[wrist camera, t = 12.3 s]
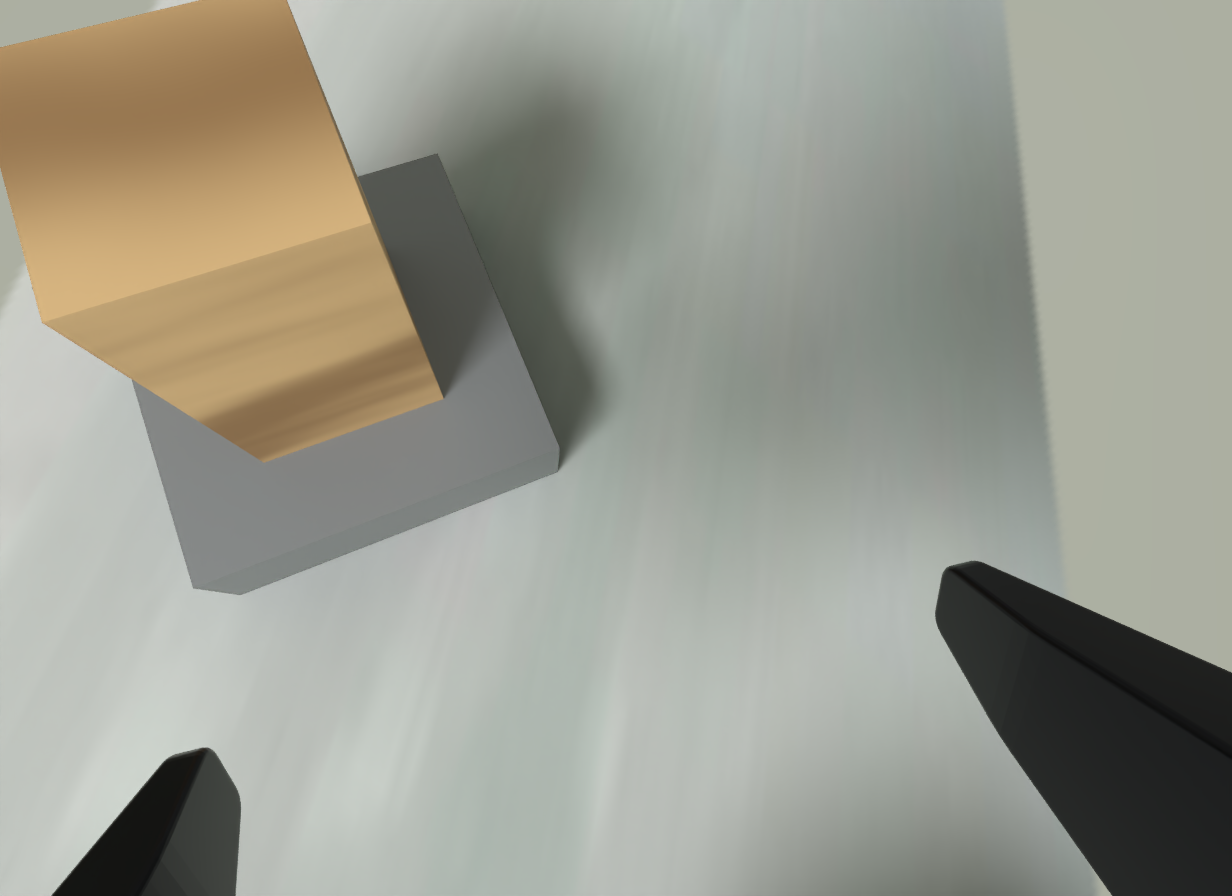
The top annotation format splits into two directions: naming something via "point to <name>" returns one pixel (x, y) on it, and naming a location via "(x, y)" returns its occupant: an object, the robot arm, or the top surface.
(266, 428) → the caramel block
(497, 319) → the gray plinth
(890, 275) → the top surface
